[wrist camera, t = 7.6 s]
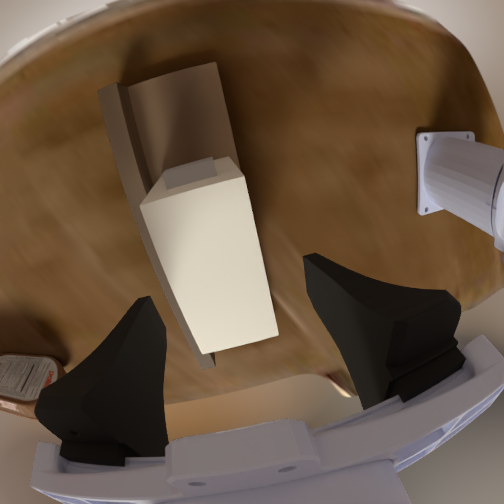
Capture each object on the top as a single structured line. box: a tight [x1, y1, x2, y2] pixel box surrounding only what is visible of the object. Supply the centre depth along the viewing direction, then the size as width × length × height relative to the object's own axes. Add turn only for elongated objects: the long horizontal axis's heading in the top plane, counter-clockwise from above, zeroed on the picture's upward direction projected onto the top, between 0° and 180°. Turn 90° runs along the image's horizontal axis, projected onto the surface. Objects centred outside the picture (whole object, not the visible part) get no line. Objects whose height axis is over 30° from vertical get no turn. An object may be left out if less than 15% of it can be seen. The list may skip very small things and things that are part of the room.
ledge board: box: [97, 62, 241, 370], centre depth 19 cm, size 7×22×4 cm, turn 12°
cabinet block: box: [140, 156, 279, 354], centre depth 16 cm, size 4×10×7 cm, turn 12°
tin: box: [0, 353, 67, 420], centre depth 20 cm, size 15×3×8 cm, turn 93°
